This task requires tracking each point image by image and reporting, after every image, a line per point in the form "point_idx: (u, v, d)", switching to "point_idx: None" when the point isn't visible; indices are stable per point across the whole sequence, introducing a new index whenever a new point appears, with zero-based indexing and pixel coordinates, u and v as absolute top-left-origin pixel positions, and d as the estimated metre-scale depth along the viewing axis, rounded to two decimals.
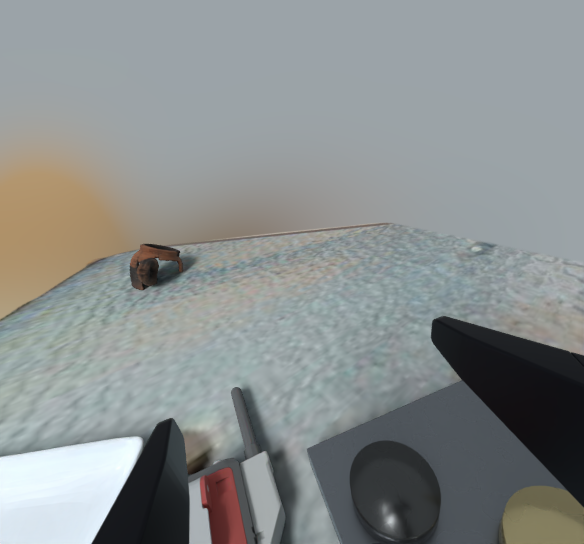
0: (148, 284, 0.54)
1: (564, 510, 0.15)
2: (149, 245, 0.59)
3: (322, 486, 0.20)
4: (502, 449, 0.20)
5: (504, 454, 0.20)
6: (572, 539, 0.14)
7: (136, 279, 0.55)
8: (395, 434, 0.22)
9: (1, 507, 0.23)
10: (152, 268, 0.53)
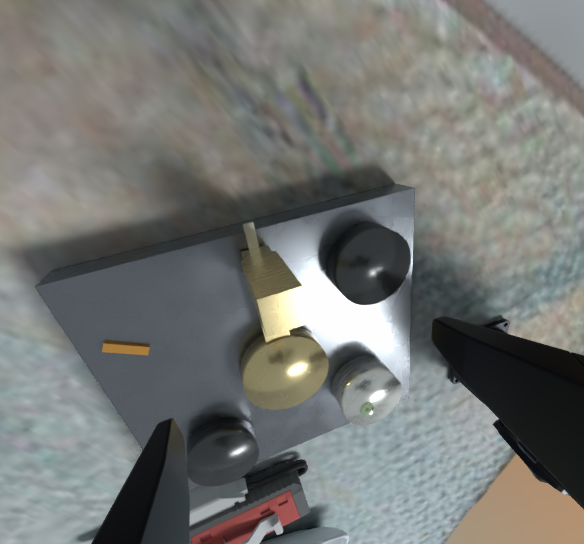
0: None
1: (263, 372, 0.19)
2: None
3: None
4: (194, 364, 0.19)
5: (199, 364, 0.19)
6: (279, 376, 0.20)
7: None
8: None
9: None
10: None
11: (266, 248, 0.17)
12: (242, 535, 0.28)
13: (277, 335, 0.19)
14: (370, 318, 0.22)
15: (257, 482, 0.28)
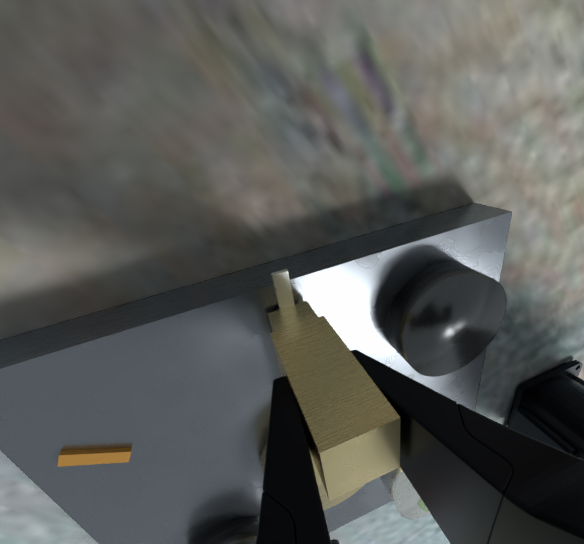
0: None
1: None
2: None
3: None
4: (197, 462, 0.14)
5: (204, 462, 0.14)
6: (316, 476, 0.14)
7: None
8: None
9: None
10: None
11: (307, 309, 0.11)
12: None
13: None
14: (433, 381, 0.17)
15: None
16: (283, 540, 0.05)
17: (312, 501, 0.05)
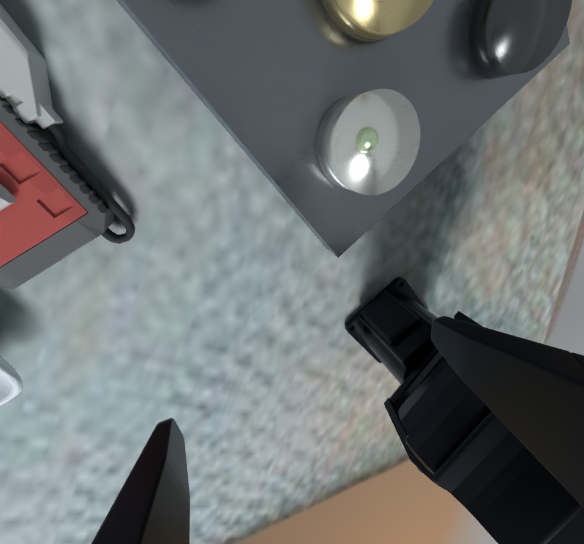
0: None
1: None
2: None
3: None
4: None
5: None
6: None
7: None
8: None
9: None
10: None
11: None
12: None
13: None
14: (441, 93, 0.18)
15: (66, 148, 0.14)
16: None
17: None
